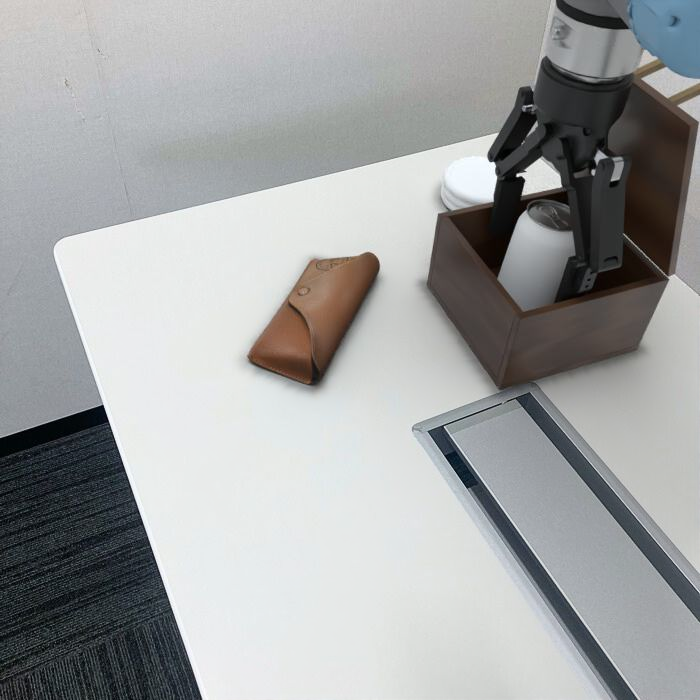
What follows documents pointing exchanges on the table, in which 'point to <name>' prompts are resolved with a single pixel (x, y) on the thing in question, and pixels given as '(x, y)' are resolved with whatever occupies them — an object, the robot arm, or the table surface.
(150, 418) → the table surface
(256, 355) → the sunglasses case
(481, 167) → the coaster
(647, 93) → the lid
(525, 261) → the can
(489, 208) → the chest
